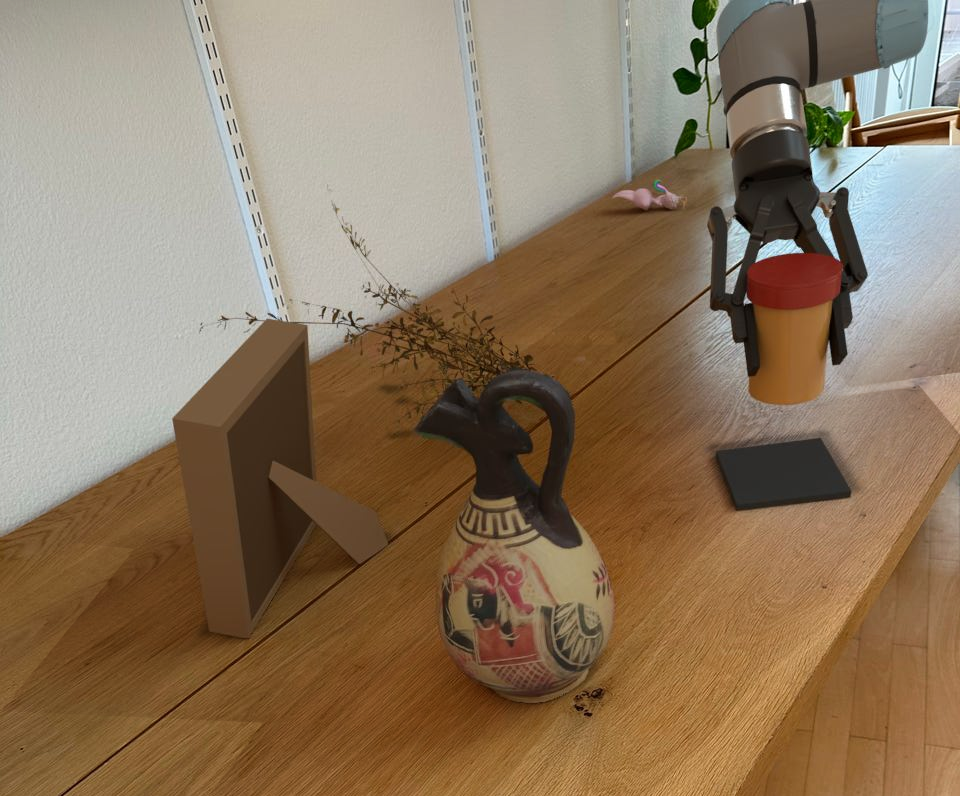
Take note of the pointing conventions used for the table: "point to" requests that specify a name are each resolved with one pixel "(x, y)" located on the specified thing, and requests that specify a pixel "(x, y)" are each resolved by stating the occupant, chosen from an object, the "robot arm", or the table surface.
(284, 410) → the photo frame
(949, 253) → the table surface
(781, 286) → the lid
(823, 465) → the mat
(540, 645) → the ceramic jug
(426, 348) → the dried plant
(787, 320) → the jar
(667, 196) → the pink toy figure
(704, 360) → the table surface
